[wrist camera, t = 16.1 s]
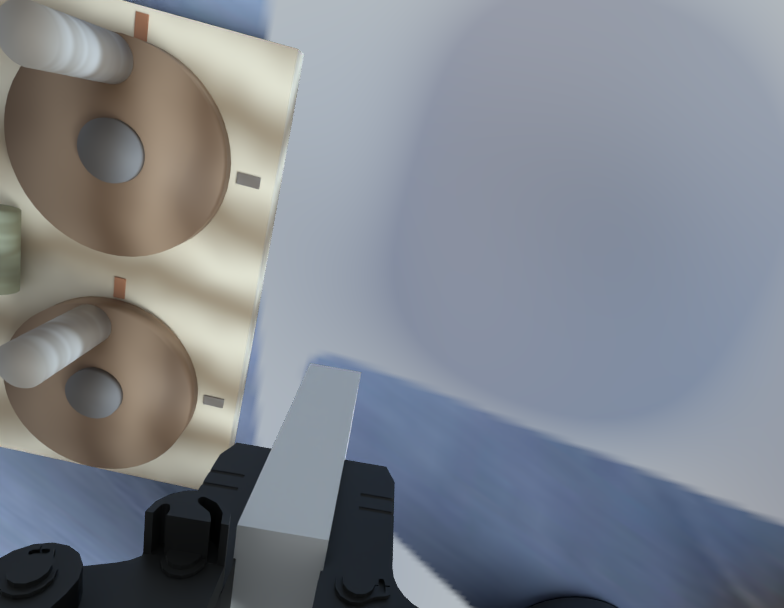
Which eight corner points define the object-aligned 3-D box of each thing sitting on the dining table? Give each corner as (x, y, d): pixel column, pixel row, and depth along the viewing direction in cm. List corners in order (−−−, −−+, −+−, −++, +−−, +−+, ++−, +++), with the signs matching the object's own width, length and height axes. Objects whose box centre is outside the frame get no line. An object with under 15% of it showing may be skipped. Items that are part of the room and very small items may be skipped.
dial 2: (196, 307, 37) (137, 355, 29) (199, 463, 41) (148, 544, 33) (9, 286, 37) (-106, 329, 28) (31, 446, 41) (-63, 523, 33)
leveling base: (228, 479, 45) (210, 514, 41) (4, 430, 44) (-38, 461, 39) (303, 54, 34) (290, 42, 30) (6, -28, 32) (-52, -54, 28)
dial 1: (233, 50, 32) (172, 17, 23) (229, 262, 36) (177, 299, 28) (12, 21, 31) (-130, -22, 23) (36, 238, 36) (-76, 268, 27)
